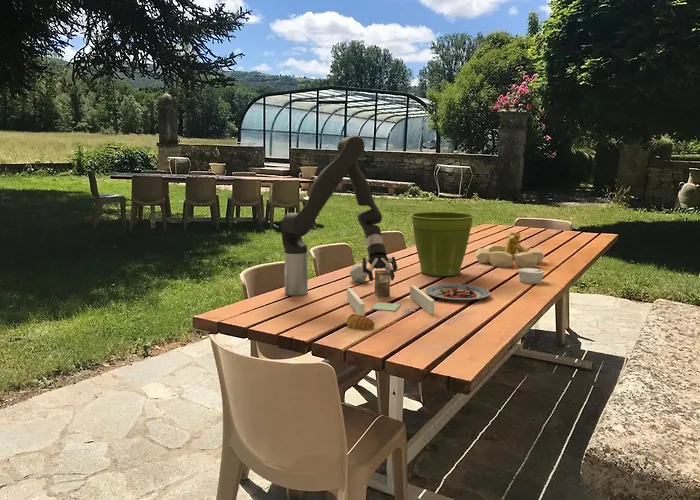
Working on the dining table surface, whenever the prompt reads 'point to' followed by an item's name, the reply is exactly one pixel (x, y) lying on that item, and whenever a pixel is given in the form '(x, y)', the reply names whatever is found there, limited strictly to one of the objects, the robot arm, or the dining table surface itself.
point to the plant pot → (441, 241)
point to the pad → (386, 306)
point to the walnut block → (382, 283)
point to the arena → (415, 295)
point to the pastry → (360, 322)
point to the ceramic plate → (457, 292)
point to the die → (358, 274)
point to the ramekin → (530, 275)
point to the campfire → (510, 254)
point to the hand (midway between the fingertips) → (382, 279)
